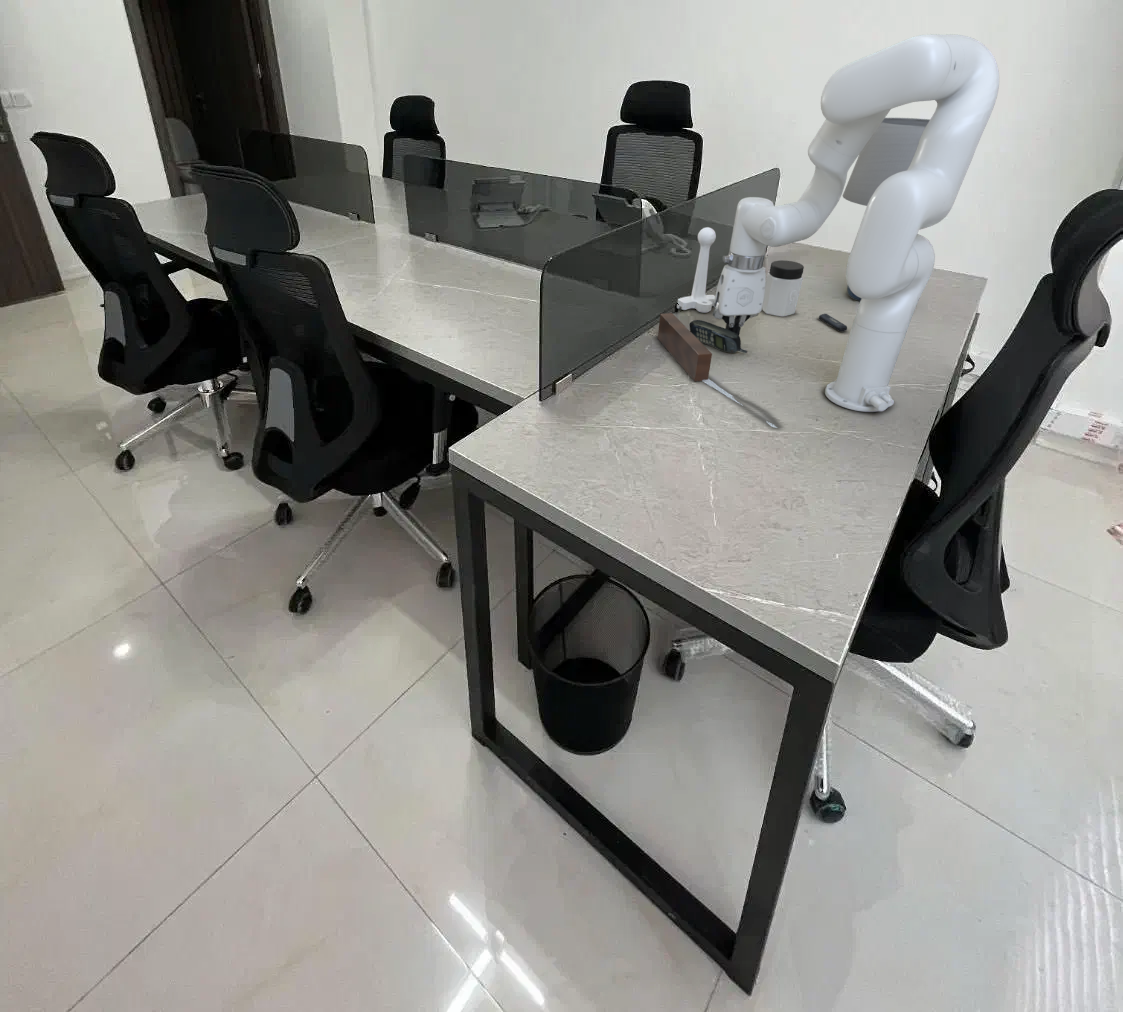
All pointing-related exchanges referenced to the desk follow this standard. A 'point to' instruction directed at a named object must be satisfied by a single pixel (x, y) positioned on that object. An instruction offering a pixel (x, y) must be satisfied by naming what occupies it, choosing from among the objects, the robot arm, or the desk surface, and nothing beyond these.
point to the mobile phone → (716, 336)
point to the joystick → (700, 276)
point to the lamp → (883, 159)
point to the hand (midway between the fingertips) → (730, 341)
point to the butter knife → (726, 394)
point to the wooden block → (684, 347)
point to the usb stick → (833, 322)
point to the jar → (782, 288)
